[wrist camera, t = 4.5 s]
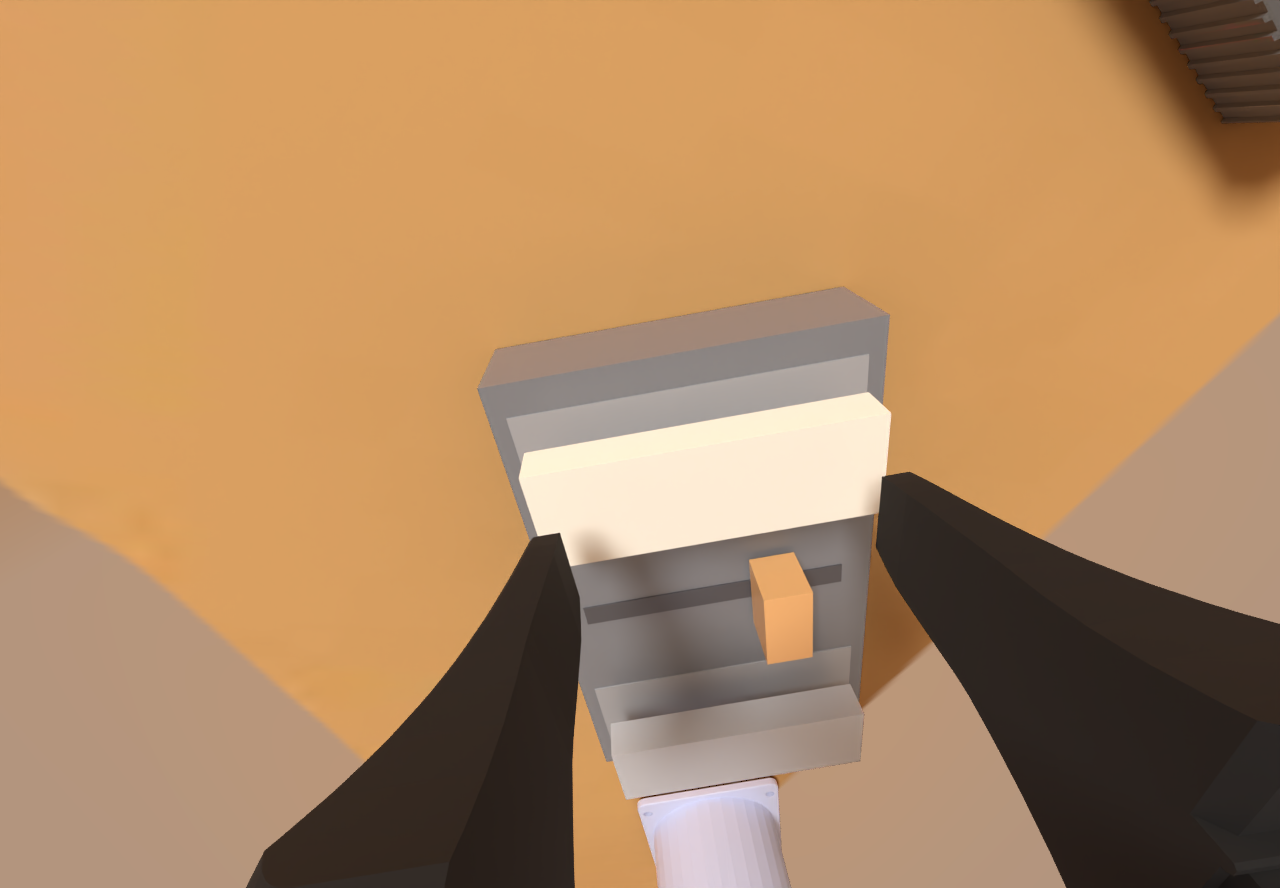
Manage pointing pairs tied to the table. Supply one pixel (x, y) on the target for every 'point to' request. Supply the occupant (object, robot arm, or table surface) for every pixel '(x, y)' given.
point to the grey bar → (738, 741)
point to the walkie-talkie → (1231, 53)
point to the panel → (710, 572)
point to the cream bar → (710, 479)
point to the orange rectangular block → (782, 607)
